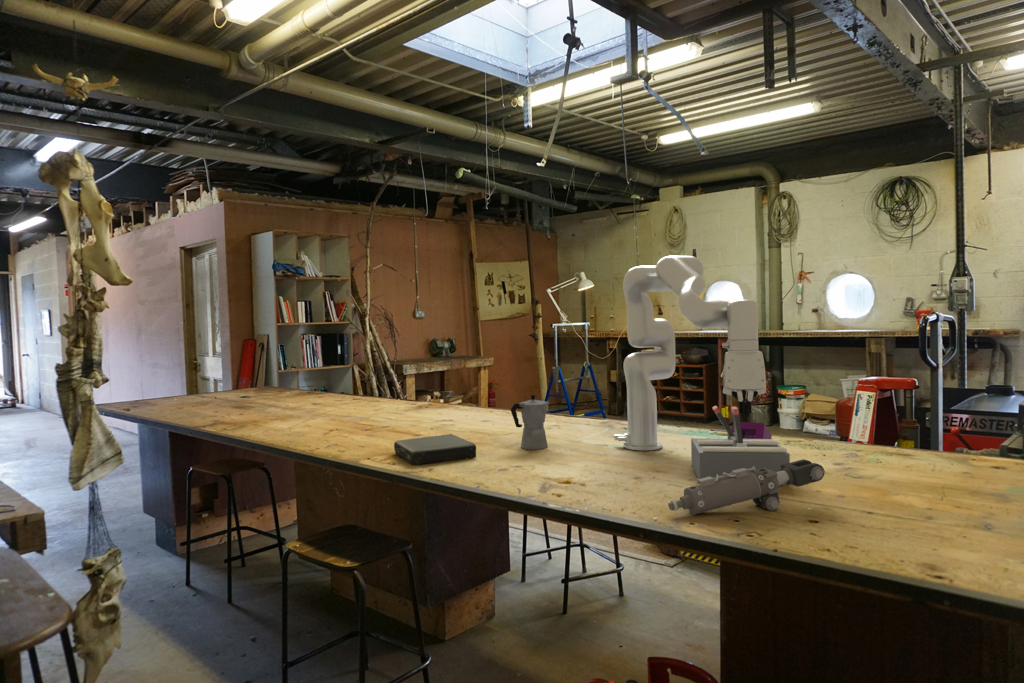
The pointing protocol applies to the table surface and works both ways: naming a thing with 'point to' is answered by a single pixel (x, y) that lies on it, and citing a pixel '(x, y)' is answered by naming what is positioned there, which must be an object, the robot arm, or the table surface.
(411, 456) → the network switch
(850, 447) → the table surface
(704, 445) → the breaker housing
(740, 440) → the lever
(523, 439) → the coffeepot
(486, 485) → the table surface
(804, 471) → the hydraulic cylinder
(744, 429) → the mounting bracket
